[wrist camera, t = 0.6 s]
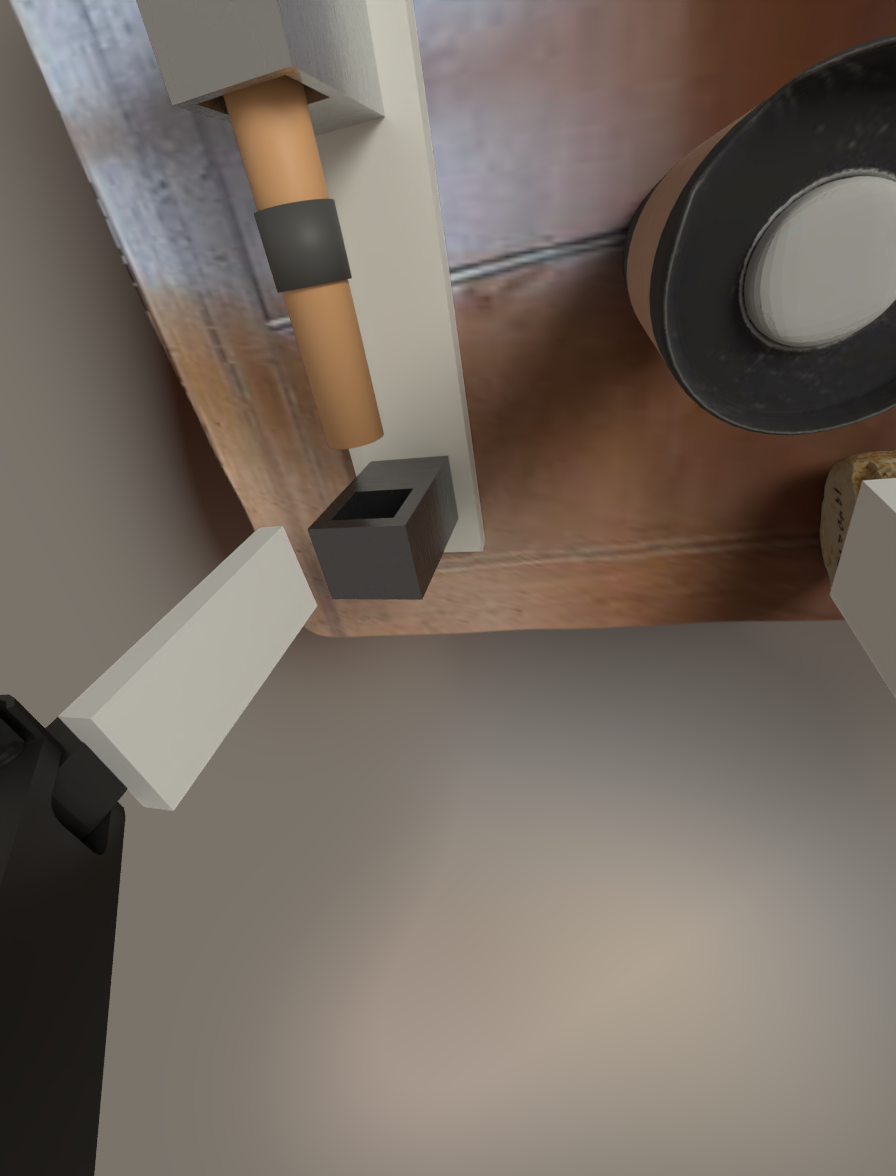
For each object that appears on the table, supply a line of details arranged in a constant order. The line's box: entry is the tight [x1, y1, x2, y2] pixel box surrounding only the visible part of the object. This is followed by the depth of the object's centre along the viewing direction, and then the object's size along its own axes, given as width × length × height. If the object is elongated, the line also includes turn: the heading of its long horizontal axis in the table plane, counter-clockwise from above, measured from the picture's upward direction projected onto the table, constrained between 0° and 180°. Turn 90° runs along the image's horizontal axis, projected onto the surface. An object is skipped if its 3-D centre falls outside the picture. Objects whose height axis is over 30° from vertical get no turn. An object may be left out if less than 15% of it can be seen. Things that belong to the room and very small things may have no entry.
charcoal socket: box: [308, 456, 458, 599], centre depth 33 cm, size 5×6×10 cm
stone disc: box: [820, 450, 896, 588], centre depth 29 cm, size 10×4×10 cm, turn 17°
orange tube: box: [223, 75, 384, 449], centre depth 22 cm, size 22×4×4 cm, turn 9°
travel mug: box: [623, 34, 896, 435], centre depth 19 cm, size 8×8×20 cm
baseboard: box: [315, 0, 485, 552], centre depth 31 cm, size 37×9×2 cm, turn 9°
